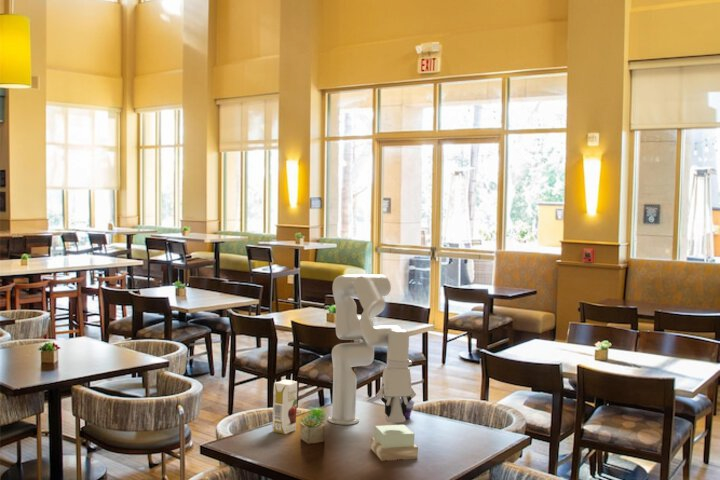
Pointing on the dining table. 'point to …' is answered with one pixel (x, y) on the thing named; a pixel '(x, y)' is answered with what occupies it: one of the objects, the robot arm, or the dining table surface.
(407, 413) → the potion bottle
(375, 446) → the birch base block
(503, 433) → the dining table surface
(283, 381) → the juice carton
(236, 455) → the dining table surface
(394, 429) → the sage top block
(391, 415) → the flask
